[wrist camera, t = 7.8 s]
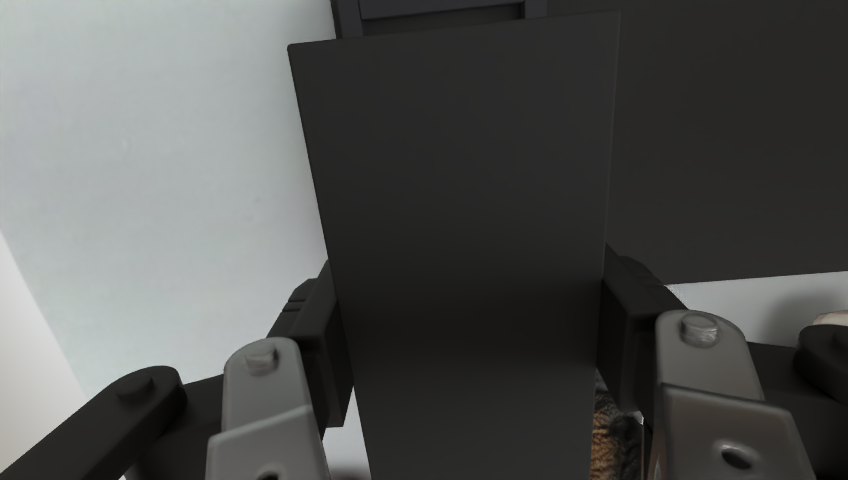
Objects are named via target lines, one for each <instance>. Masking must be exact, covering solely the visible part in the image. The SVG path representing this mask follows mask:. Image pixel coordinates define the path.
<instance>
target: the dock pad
mask: <svg viewBox="0 0 848 480" xmlns="http://www.w3.org/2000/svg"><path fill="white" fill-rule="evenodd" d="M330 1H331V7H332V14H333V20H334V26H335V33H336V39H341V38H351V37H360V36H369V35H379V34H388V33H397V32H406V31H416V30H425V29H434V28H444V27H453V26H462V25H472V24H481V23H490V22H500V21H509V20H518V19H528V18H537V17H546V16H556V15H565V14H574V13H583V12H593V11H602V10H611V9H618V10H620V13H621V15H620V30H619V45H618V60H617V75H616V90H615V105H614V120H613V135H612V150H611V165H610V180H609V195H608V210H607V225H606V240H605V241H606V243H607V244H608V245H609V246H610V247H611V248H612V249H613V250H614V251H615V252H616V254H617V255H618V256H625V255H626V256H628V257H630V258H632V259H634V260H637V261H639V262H641V263H643V264H644V265H645V266H646V267H647V268H648V269H649V270H650V271H651V272H652V273H653V274H654V277H657V278H658V279H659V280H660V281H661V282H662V283H663V285H671V284H684V283H697V282H710V281H723V280H736V279H749V278H762V277H775V276H788V275H801V274H814V273H826V272H839V271H848V0H330Z"/></svg>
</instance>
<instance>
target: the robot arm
mask: <svg viewBox="0 0 848 480" xmlns="http://www.w3.org/2000/svg"><path fill="white" fill-rule="evenodd" d="M596 367H597V369H598V371H599V373H600V375H601V377H602V379H603V381H604V383H605V385H606V387H607V389H608V391H609V393H610V394H611V396H612V398H613V400H614V402H615V404H616V406H617V408H618V410H619V412H637V411H640V412H641V414H642V416H643V417H644V421H643V429H642V468H641V480H848V326H844V325H836V324H817V325H811V326H808V327H806V328H804V329H803V330H802V331H801V332H800V335H799V338H798V342H797V346H796V348H794V347H786V346H778V345H769V344H761V343H754V342H748V341H746V339H745V336H744V334H743V332H742V331H741V330H740V329H739V328H738V327H737V326H736V325H734V324H733V323H731V322H730V321H728V320H726V319H724V318H722V317H719V316H717V315H714V314H711V313H707V312H703V311H697V310H689V309H688V308H687V307H686V306H685V305H684V304H683V303H682V302H681V301H680V300H679V299H678V298H677V297H676V296H675V295H674V294H673V293H672V292H671V291H670V290H669V289H668V288H667V287H666V286H663V283H662V282H661V281H660V280H659V279H658V278H657V277H654V274H653V273H652V272H651V271H650V270H649V269H648V268H647V267H646V266H645V265H644V264H643V263H641V262H639V261H637V260H634V259H632V258H630V257H628V256H626V255H625V256H618V255H617V254H616V252H615V251H614V250H613V249H612V248H611V247H610V246H609V245H608V244H607V243H606V241H605V255H604V270H603V278H602V290H601V305H600V320H599V335H598V350H597V365H596ZM353 384H354V378H353V373H352V368H351V363H350V358H349V353H348V347H347V342H346V337H345V332H344V327H343V322H342V317H341V312H340V306H339V301H338V297H336V295H335V290H334V285H333V280H332V274H331V269H330V264H329V259H328V260H327V261H326V262H325V264H324V266H323V268H322V270H321V272H320V274H319V276H318V277H317V278H314V279H308V280H306V281H305V282H304V283H302V284H301V285H300V286H298V287H297V288H296V289H295V290H294V291H293V293H292V295H291V296H290V298H289V300H288V303H286V305H285V306H284V308H283V310H282V312H281V313H280V315H279V316H278V318H277V320H276V321H275V323H274V325H273V327H272V328H271V330H270V332H269V333H268V335H267V337H266V338H265V339H261V340H258V341H255V342H252V343H250V344H248V345H246V346H244V347H242V348H241V349H239V350H238V351H236V352H235V353H234V354H233V355H232V356H231V357H230V358H229V359H228V360H227V362H226V364H225V366H224V374H221V375H218V376H214V377H211V378H207V379H203V380H199V381H196V382H192V383H188V384H185V385H183V384H182V381H181V379H180V376H179V373H178V372H177V370H176V369H174V368H172V367H170V366H152V367H147V368H144V369H140V370H137V371H135V372H132V373H130V374H127V375H125V376H123V377H121V378H119V379H118V380H116V381H114V382H113V383H111V384H110V385H109V386H107V387H106V388H105V389H103V390H102V391H101V392H100V393H98V394H97V395H96V396H95V397H94V398H92V399H91V400H90V401H89V402H87V403H86V404H85V405H84V406H83V407H81V408H80V409H79V410H78V411H76V412H75V413H74V414H73V415H71V416H70V417H69V418H68V419H67V420H65V421H64V422H63V423H62V424H60V425H59V426H58V427H57V428H56V429H54V430H53V431H52V432H51V433H49V434H48V435H47V436H46V437H44V438H43V439H42V440H41V441H40V442H38V443H37V444H36V445H35V446H33V447H32V448H31V449H30V450H29V451H27V452H26V453H25V454H24V455H23V456H21V457H20V458H19V459H17V460H16V461H15V462H14V463H13V464H11V465H10V466H9V467H8V468H6V469H5V470H4V471H3V472H2V473H0V480H119V479H120V478H121V476H122V475H123V474H124V476H125V478H126V480H331V477H330V473H329V469H328V465H327V460H326V456H325V452H324V448H323V444H322V440H323V437H324V433H325V430H326V428H331V427H343V425H344V421H345V417H346V413H347V409H348V405H349V401H350V396H351V392H352V388H353Z"/></svg>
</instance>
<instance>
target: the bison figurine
mask: <svg viewBox="0 0 848 480" xmlns="http://www.w3.org/2000/svg"><path fill="white" fill-rule="evenodd" d="M641 421H642V415H641V412H640V411H637V412H619V410H618V408H617V406H616V404H615V402H614V400H613V398H612V396H611V394H610V393H609V391H608V389H607V387H606V385H605V383H604V381H603V379H602V377H601V375H600V373H599V371H598V369H597V376H596V391H595V406H594V421H593V436H592V451H591V466H590V480H641V468H642V429H643V425H642V424H640V423H641Z"/></svg>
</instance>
